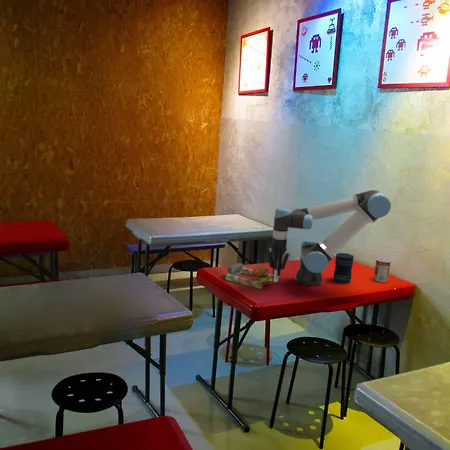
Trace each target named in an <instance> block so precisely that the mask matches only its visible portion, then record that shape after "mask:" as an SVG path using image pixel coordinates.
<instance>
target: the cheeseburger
mask: <svg viewBox="0 0 450 450" xmlns="http://www.w3.org/2000/svg"><path fill="white" fill-rule="evenodd" d="M268 272H269V269H268V268H267V267H265V266H261V267H256V268H253V269H252V272H251V275H250V276H251V277H252V279H253V281H257V282H261V283H262V286H266V285H271V284H272V283H273V281H272V278H271V276H270V275H269V274H270V273H268Z"/></svg>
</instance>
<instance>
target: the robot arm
mask: <svg viewBox="0 0 450 450" xmlns="http://www.w3.org/2000/svg"><path fill="white" fill-rule="evenodd" d="M391 203H392V202H391V200H390V199H389V197H388V196H387V195H386V194H385V193H382V192H380V191H378V190H367V191H363V192H360V193H356V194H353V195H352V196H351V197H346V198H342V199H338V200H335V201H330V202H325V203H322V204H318V205H313V206H309V207H304V208H296V209H295V208H294V210H292V212H291V211H290V209H288V208H284V207H283V208H282V207H280V208H279V207H278V208H276V209H275V210H274V211H275V212H274V219H273V229H272V231H273V232H272V241H271V247H270V248H269V247H268V248H267V249H266V252H267V254H268V263H269V264H268V265H269V267H270V268H271V269H272V275H274V279H273V281H272V283H273V282H274V283H277V282H279V277H280V276H281V272H282V271H283V270H285V267H286V265H287V262H288V258H289V257H290V256H291V252H289V251H288V250H287V244H288V243H287V242H288V241H287V240H288V239H287V238H288V231H289V229H301V230H312V226H313V221H317V220H321V219H325V218H330V217H335V216H338V215H343V214H348V213H351V212H354V213H353V214H352V215H350V216H349V217H348V218H347V219H346V220H345V221H343V222H342V224H340V225H339V226H338V227H337V228H335V230H334V231H333V232H331V234H329V235H328V236H326V238H325V239H323V241H318V240H303V241H301V244H300V245H301V248H300V258H299V266H298V269H297V270H296V271H297V272H296V274H295V276H294V281H295V282H296V283H299V284H301V285H304V286H321V285H322V284H323V281H324V280H323V275H322V272H324V271H325V270H326V269H327V267H328V264H329V263H330V262H331V261H332V260H333V259H334V255H335V254H336V253H337V252H338V251H340V249H341V248H342V247H344V246H345V245H346V244H347V243H348V242H349V241H350V240H351V239H353V237H355V236H356V235H357V234H358V233H359V232H360V231H362V230H363V228H365V227H366V226H368V224H369V223H370V224H371V223H373V224H374V223H375V222H377V221H378V220H379V219H381V218H384V217H387V215H388V214H389V213H390V211H391V209H392V204H391Z"/></svg>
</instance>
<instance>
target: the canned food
mask: <svg viewBox="0 0 450 450" xmlns="http://www.w3.org/2000/svg"><path fill="white" fill-rule="evenodd" d="M390 268H391V260H390V259H388V258H383V257H382V258H380V257H379V258H376V259H375V267H374V274H373V280H374V281H376V282H380V283H388V282H389V276H390V275H389V274H390Z"/></svg>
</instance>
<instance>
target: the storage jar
mask: <svg viewBox="0 0 450 450" xmlns="http://www.w3.org/2000/svg"><path fill="white" fill-rule="evenodd" d="M335 254H336V255H335V260H334V261H335V262H334V264H335V267H334V270H333V272H334V273H333V279H332V280H333V282H335V283H338V284H342V285H343V284H345V285H346V284H351V282H352V281H351V280H352V273H353V272H352V270H353V269H352V268H353V265H354V257H355V256H354V255H353V254H350V253H344V252H338V253H337V252H336V253H335Z"/></svg>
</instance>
